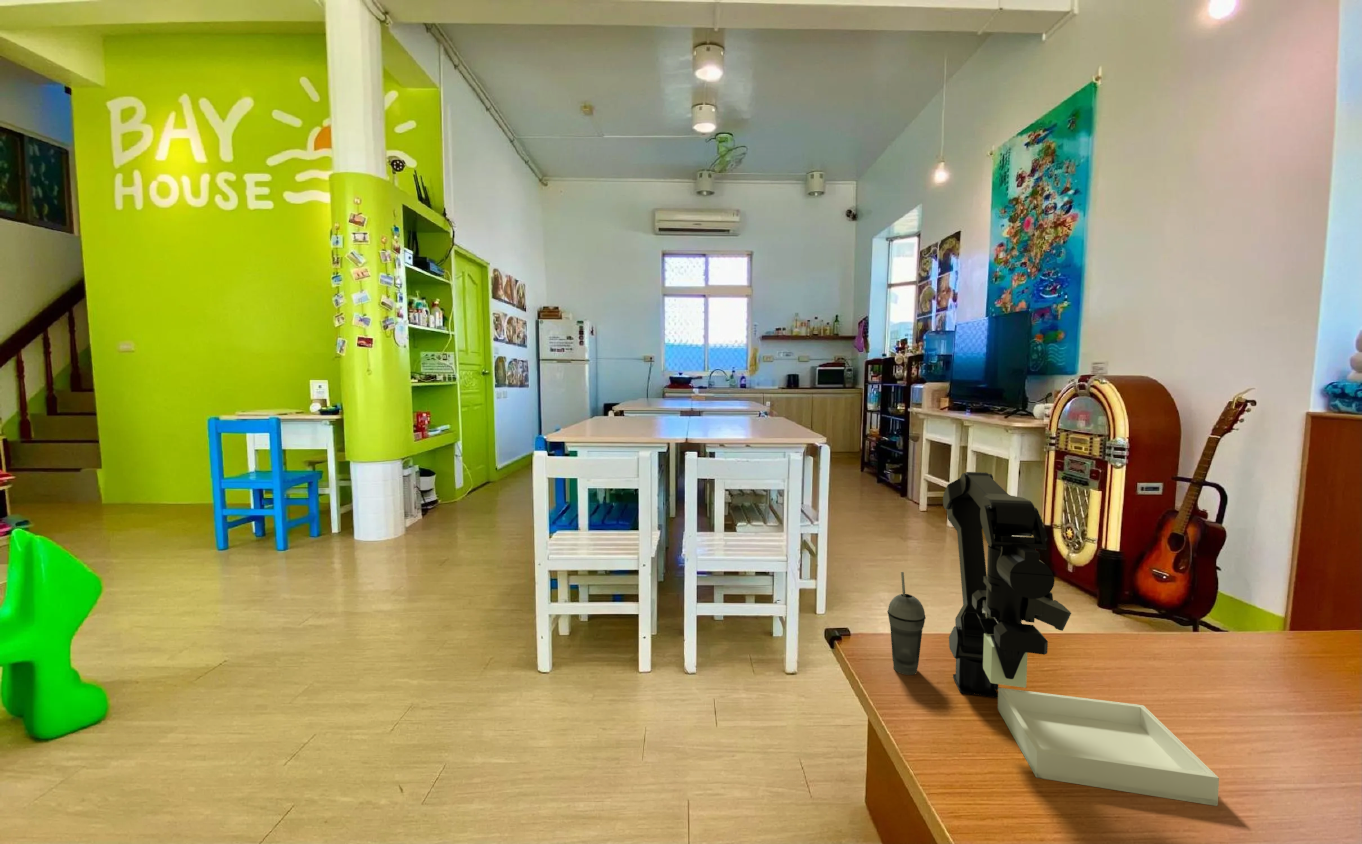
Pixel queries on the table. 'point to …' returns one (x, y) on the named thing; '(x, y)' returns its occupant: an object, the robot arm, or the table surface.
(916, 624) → the beverage cup
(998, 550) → the robot arm
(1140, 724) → the bin
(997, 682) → the sage block
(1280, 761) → the table surface
